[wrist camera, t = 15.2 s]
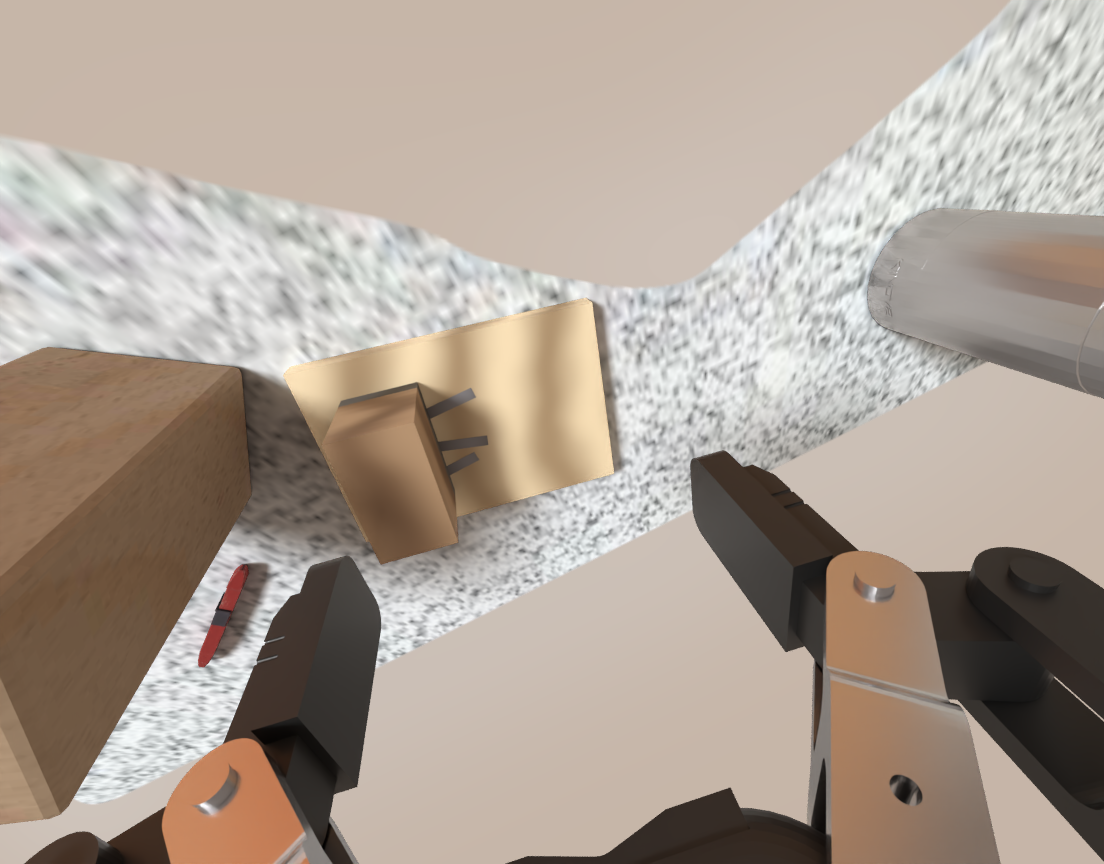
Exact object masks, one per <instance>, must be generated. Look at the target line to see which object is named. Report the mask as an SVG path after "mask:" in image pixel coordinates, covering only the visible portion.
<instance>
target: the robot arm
mask: <svg viewBox="0 0 1104 864" xmlns="http://www.w3.org/2000/svg"><path fill="white" fill-rule="evenodd" d="M867 299H868V306H869V310H870V312H871V315H872V317H873V318H874V319H875V320H876V322H877V323H878V324H880V325H881V326H883V327H885V328H887V329H890V330H893V331H896V332H899V333H903V334H906V335H909V336H912V337H915V338H918V339H921V340H924V341H927V342H930V343H933V344H936V345H939V346H942V347H945V348H948V349H951V350H954V351H957V352H961V353H964V354H967V355H970V356H973V357H976V358H979V359H982V360H985V361H988V362H991V363H995V364H998V365H1001V366H1004V367H1007V368H1010V369H1013V370H1016V371H1019V372H1022V373H1025V374H1029V375H1032V376H1035V377H1038V378H1041V379H1044V380H1047V381H1050V382H1053V383H1057V384H1060V385H1063V386H1066V387H1069V388H1072V389H1075V390H1078V391H1081V392H1084V393H1087V394H1091V395H1094V396H1098V397H1101V398H1104V216H1090V215H1070V214H1051V213H1031V212H1011V211H996V210H973V209H950V208H938V209H933V210H929V211H927V212H924V213H922V214H920V215H918V216H916V217H915V218H913V219H912V220H910V221H909V222H907V223H906V224H905V225H904V226H903V227H902V228H900V229H899V230H898V231H897V232H896V233H895V234H894V235H893V237H892V238H891V239H890V240H889V242H888V243H887V244H886V245H885V247H884V248H883V250H882V252H881V253H880V255H879V257H878V258H877V260H876V263H875V265H874V268H873V270H872V272H871V276H870V280H869V284H868V295H867ZM690 470H691V488H692V505H693V514H694V518H695V521H696V524H697V526H698V528H699V531H700V532H701V534H702V536H703V537H704V538H705V540H706V541H707V543H708V544H709V545H710V547H711V548H712V550H713V551H714V552H715V554H716V555H717V557H718V558H719V559H720V561H721V562H722V564H723V565H724V566H725V568H726V569H727V570H728V572H729V573H730V575H731V576H732V578H733V579H734V580H735V582H736V583H737V585H738V586H739V587H740V589H741V590H742V592H743V593H744V594H745V596H746V597H747V599H748V600H749V601H750V603H751V604H752V606H753V607H754V608H755V610H756V611H757V613H758V614H759V615H760V617H761V618H762V619H763V621H764V622H765V624H766V625H767V627H768V628H769V629H770V631H771V632H772V634H773V635H774V636H775V638H776V639H777V640H778V642H779V643H780V645H781V646H782V648H783V649H784V650H785V652H788V651H790V650H794V649H797V648H800V647H803V646H805V647H806V649H807V650H808V651H809V652H810V654H811V655H812V656H813V658H814V665H813V694H812V695H813V696H812V735H811V736H812V737H811V766H810V780H809V793H808V809H807V824H804V823H802V822H800V821H797V820H795V819H793V818H790V817H788V816H784V815H781V814H777V813H774V812H771V811H765V810H758V809H752V808H740V807H739V805H738V803H737V801H736V799H735V797H734V794H733V793H732V790H731V788H728V789H725V790H722V791H719V792H716V793H713V794H710V795H707V796H704V797H701V798H698V799H695V800H692V801H689V802H686V803H683V804H681V805H678V806H675V807H672V808H669V809H666V810H664V811H663V812H662V813H661V814H659V815H658V816H657V817H655V818H654V819H653V820H651V821H650V822H649V823H647V824H646V825H645V826H643V827H642V828H641V829H639V830H638V831H637V832H635V833H634V834H633V835H631V836H630V837H629V838H627V839H626V840H625V841H623V842H622V843H621V844H619V845H618V846H617V847H615V848H614V849H613V850H612V851H610V852H609V853H607V854H605V855H602V856H597V857H561V856H557V857H556V856H527V857H524V858H521V859H518V860H515V861H512V862H509V863H507V864H1001V863H1000V859H999V854H998V850H997V846H996V841H995V837H994V832H993V828H992V824H991V819H990V814H989V810H988V806H987V801H986V797H985V792H984V788H983V784H982V779H981V775H980V770H979V766H978V761H977V757H976V753H975V748H974V743H973V739H972V735H971V730H970V726H969V723H968V720H967V717H966V715H965V713H964V711H963V709H962V708H961V707H960V706H959V705H957V704H954V703H950V702H949V700H948V699H955V700H958V701H959V702H960V703H961V704H962V705H963V706H964V707H965V709H966V710H967V711H968V712H969V713H970V714H971V715H972V716H973V717H974V719H975V720H976V721H977V722H978V723H979V724H980V725H981V726H982V727H983V729H984V730H985V731H986V732H987V733H988V734H989V735H990V736H991V737H992V738H993V740H994V741H995V742H996V743H997V744H998V745H999V746H1000V747H1001V748H1002V749H1003V751H1004V752H1005V753H1006V754H1007V755H1008V756H1009V757H1010V758H1011V759H1012V761H1013V762H1014V763H1015V764H1016V765H1017V766H1018V767H1019V768H1020V769H1021V770H1022V772H1023V773H1024V774H1025V775H1026V776H1027V777H1028V778H1029V779H1030V780H1031V781H1032V783H1033V784H1034V785H1035V786H1036V787H1037V788H1038V789H1039V790H1040V791H1041V793H1042V794H1043V795H1044V796H1045V797H1046V798H1047V799H1048V800H1049V801H1050V803H1052V805H1053V806H1054V807H1055V808H1056V809H1057V810H1058V811H1059V812H1060V814H1061V815H1062V816H1063V817H1064V818H1065V819H1066V820H1067V821H1068V822H1069V823H1070V825H1071V826H1072V827H1073V828H1074V829H1075V830H1076V831H1077V832H1078V833H1079V835H1080V836H1082V838H1083V839H1084V840H1085V841H1086V842H1087V843H1088V844H1089V846H1090V847H1091V848H1092V849H1093V850H1094V851H1095V852H1096V853H1097V854H1098V856H1099V857H1100V858H1101V859H1102V860H1103V861H1104V722H1103V721H1102V720H1101V719H1100V718H1099V717H1098V716H1097V715H1096V714H1094V713H1093V712H1092V711H1091V710H1090V709H1089V708H1088V707H1086V706H1085V705H1084V704H1083V703H1082V702H1081V701H1080V700H1079V699H1077V698H1076V697H1075V696H1074V695H1073V694H1072V693H1071V692H1069V691H1068V690H1067V689H1066V688H1065V687H1064V686H1062V685H1061V684H1060V683H1059V682H1058V681H1057V680H1056V679H1055V678H1054V676H1055V677H1056V678H1058V680H1060V681H1061V682H1062V683H1063V684H1064V685H1065V686H1066V687H1068V688H1069V689H1070V690H1071V691H1072V692H1073V693H1074V694H1076V695H1077V696H1078V697H1079V698H1080V699H1081V700H1082V701H1084V702H1085V703H1086V704H1087V705H1088V706H1089V707H1091V708H1092V709H1093V710H1094V711H1095V712H1096V713H1097V714H1098V715H1100V716H1101V717H1102V718H1103V719H1104V589H1103V588H1102V587H1100V586H1099V585H1097V584H1096V583H1094V582H1093V581H1091V580H1090V579H1088V578H1087V577H1085V576H1084V575H1082V574H1080V573H1079V572H1078V571H1076V570H1075V569H1073V568H1071V567H1070V566H1068V565H1066V564H1065V563H1063V562H1061V561H1059V560H1057V559H1055V558H1052V557H1049V556H1047V555H1044V554H1041V553H1038V552H1035V551H1030V550H1026V549H1021V548H1013V547H998V548H991V549H988V550H985V551H983V552H981V553H980V554H978V556H977V557H976V558H975V560H974V563H973V566H972V569H971V571H963V572H961V571H958V572H913V571H912V570H911V569H910V568H909V567H907V566H906V565H904V564H903V563H901V562H899V561H897V560H895V559H893V558H891V557H888V556H885V555H882V554H879V553H874V552H868V551H858V550H857V549H856V548H855V547H854V546H853V545H852V544H851V543H849V541H847V540H846V539H845V538H844V537H843V536H842V535H841V534H840V533H839V532H837V531H836V530H835V529H834V528H833V527H832V526H831V525H830V524H829V523H827V522H826V521H825V520H824V519H823V518H822V517H821V516H820V515H818V513H816V512H815V511H814V510H813V509H812V508H811V507H810V506H809V505H807V504H804V502H803V500H802V499H801V498H800V497H798V496H797V495H796V494H795V493H794V492H791V491H790V488H789V487H787V486H786V485H785V484H784V483H783V482H782V481H781V480H780V479H779V478H778V477H777V476H775V475H774V474H772V473H770V472H768V471H765V470H763V469H761V468H759V467H756V466H754V465H750V466H746V467H742V466H741V465H740V464H739V463H738V462H737V461H736V460H735V459H734V458H733V457H732V456H731V455H730V454H729V453H728V452H726V451H719V452H715V453H712V454H708V455H704V456H701V457H697V458H694V459H692V460H691V464H690ZM380 632H381V616H380V610H379V607H378V604H377V601H376V599H375V598H374V596H373V594H372V592H371V591H370V589H369V587H368V585H367V584H366V582H365V580H364V578H363V577H362V575H361V573H360V571H359V570H358V568H357V566H356V564H355V563H354V561H353V560H352V558H350V557H349V556H344V557H340V558H337V559H333V560H330V561H326V562H323V563H319V564H316V565H313V566H311V567H310V568H309V570H308V572H307V575H306V578H305V581H304V583H303V586H302V589H301V592H300V593H299V594H296V595H292V596H290V598H289V599H288V600H287V602H286V603H285V604H284V605H283V607H282V608H281V609H280V610H279V612H278V613H277V614H276V616H275V617H274V618H273V620H272V623H271V625H270V628H269V630H268V633H267V635H266V638H265V640H264V642H265V645H264V646H262V648H261V650H260V653H259V655H258V658H257V660H256V661H257V665H255V666H254V668H253V670H252V673H251V675H250V678H249V680H248V683H247V685H246V688H245V690H244V693H243V695H242V698H241V700H240V703H239V705H238V708H237V710H236V713H235V715H234V718H233V720H232V723H231V725H230V728H229V730H228V733H227V735H226V738H225V740H224V743H223V744H222V745H220V746H218V747H217V748H215V749H214V750H212V751H211V752H209V753H208V754H207V755H205V756H204V757H203V758H202V759H200V760H199V761H198V762H197V763H196V764H195V765H194V766H193V767H192V768H191V769H190V770H189V771H188V772H187V774H186V775H185V776H184V777H183V778H182V780H181V781H180V782H179V784H178V785H177V787H176V788H175V790H174V791H173V793H172V795H171V797H170V799H169V801H168V803H167V806H166V807H164V808H162V809H161V810H159V811H158V812H156V813H154V814H153V815H151V816H149V817H148V818H146V819H144V820H143V821H141V822H140V823H138V824H136V825H135V826H133V827H131V828H130V829H128V830H127V831H125V832H123V833H122V834H120V835H119V836H117V837H115V838H113V839H112V840H110V841H108V842H107V843H106V842H105V841H103V840H101V839H100V838H98V837H97V836H95V835H93V834H92V833H90V832H76V833H72V834H69V835H67V836H65V837H62V838H60V839H58V840H56V841H54V842H53V843H51V844H49V845H48V846H46V847H45V848H43V849H42V850H41V851H39V852H38V853H37V854H35V855H34V856H33V857H32V858H30V859H29V860H28V861H27V862H26V863H25V864H359V863H358V862H357V860H356V858H355V856H354V855H353V853H352V851H351V849H350V848H349V846H348V844H347V842H346V841H345V839H344V837H343V836H342V834H341V832H340V831H339V829H338V827H337V825H336V824H335V822H334V821H333V819H332V818H331V817H330V812H331V807H332V802H333V795H334V794H336V793H339V792H343V791H345V790H349V789H352V788H355V787H357V784H358V778H359V771H360V764H361V758H362V751H363V745H364V738H365V731H366V725H367V718H368V712H369V705H370V698H371V692H372V685H373V678H374V672H375V665H376V658H377V652H378V645H379V639H380Z"/></svg>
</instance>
